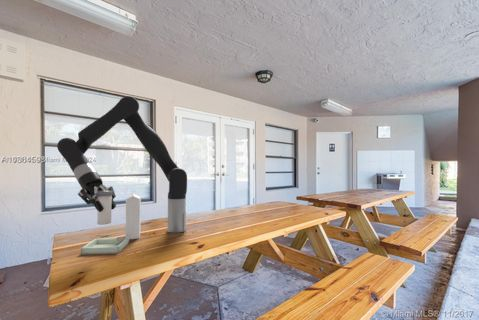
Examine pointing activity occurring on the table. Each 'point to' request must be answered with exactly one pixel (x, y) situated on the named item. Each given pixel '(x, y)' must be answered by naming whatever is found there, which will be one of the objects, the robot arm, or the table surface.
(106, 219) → the shaker
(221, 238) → the table surface
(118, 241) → the ball
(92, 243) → the tray
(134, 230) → the milk
